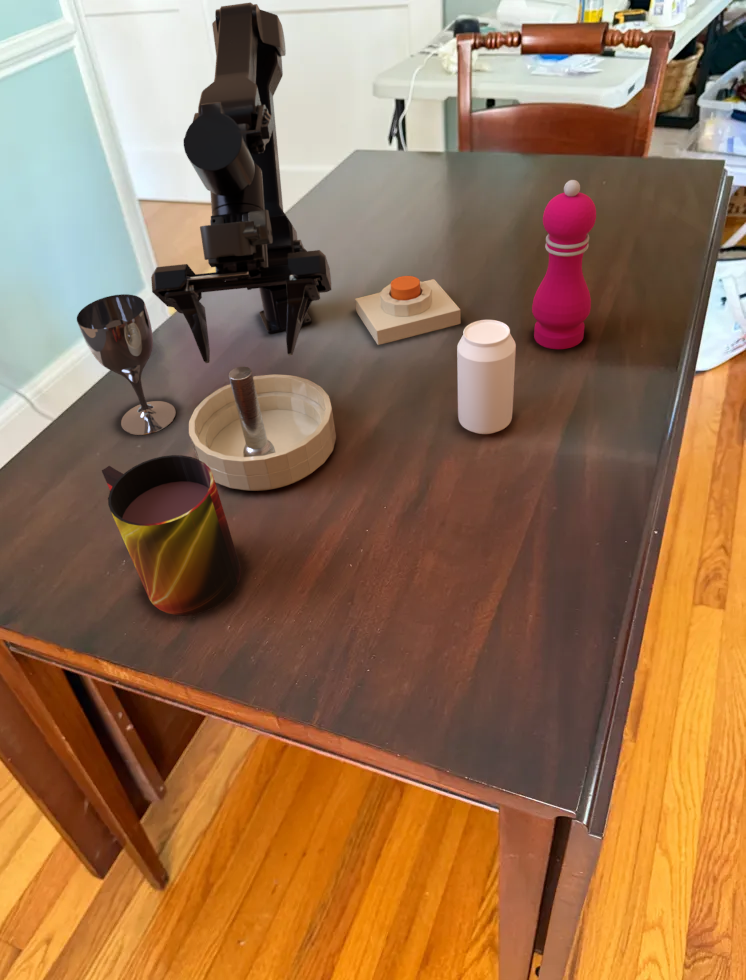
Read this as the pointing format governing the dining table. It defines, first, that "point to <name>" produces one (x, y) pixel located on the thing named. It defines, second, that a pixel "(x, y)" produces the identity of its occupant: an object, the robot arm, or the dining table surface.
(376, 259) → the dining table surface
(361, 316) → the push button box
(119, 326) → the wine glass
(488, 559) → the dining table surface
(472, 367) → the beverage can
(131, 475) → the mug
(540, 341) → the pepper mill
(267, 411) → the bowl
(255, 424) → the metal pestle
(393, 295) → the timer button
